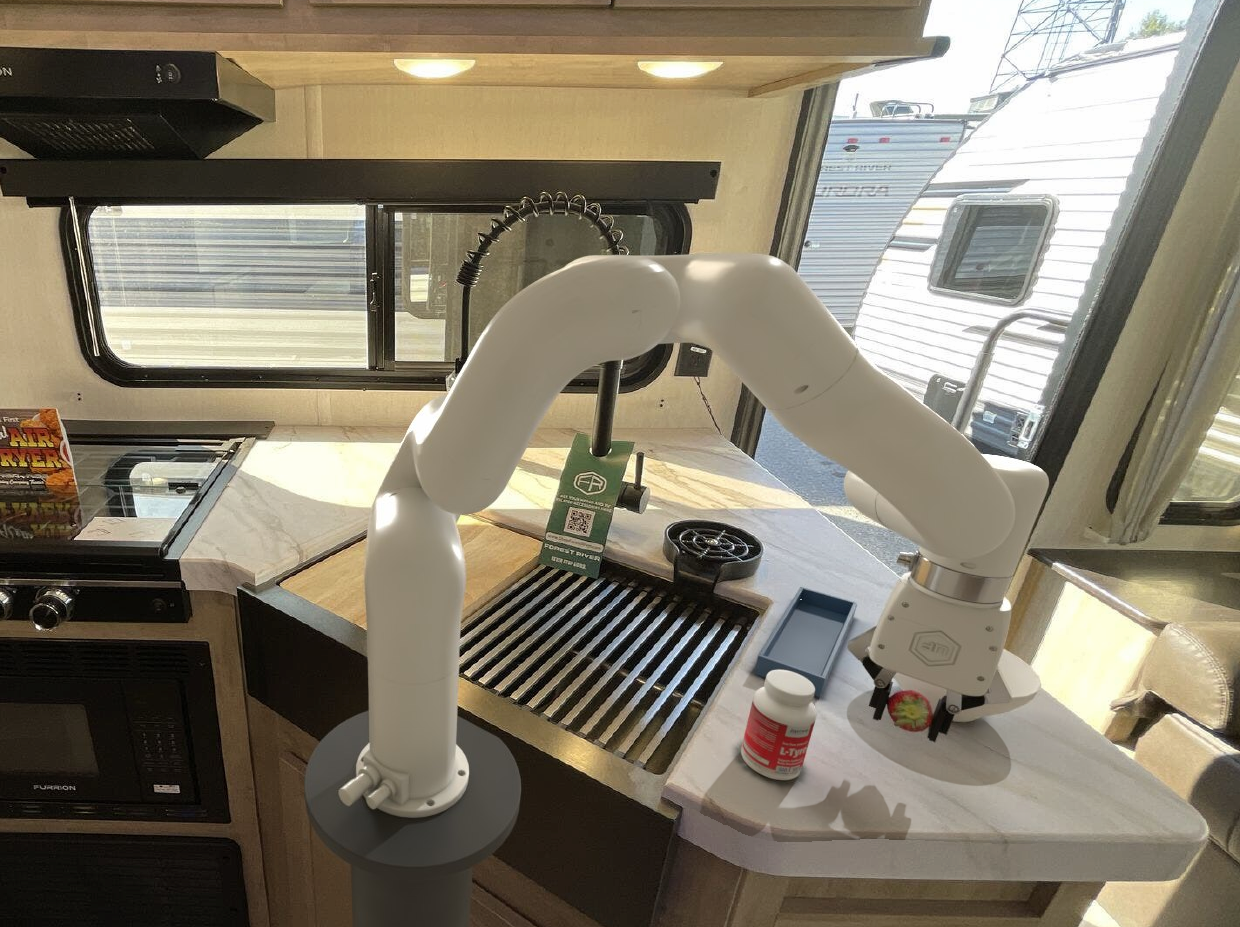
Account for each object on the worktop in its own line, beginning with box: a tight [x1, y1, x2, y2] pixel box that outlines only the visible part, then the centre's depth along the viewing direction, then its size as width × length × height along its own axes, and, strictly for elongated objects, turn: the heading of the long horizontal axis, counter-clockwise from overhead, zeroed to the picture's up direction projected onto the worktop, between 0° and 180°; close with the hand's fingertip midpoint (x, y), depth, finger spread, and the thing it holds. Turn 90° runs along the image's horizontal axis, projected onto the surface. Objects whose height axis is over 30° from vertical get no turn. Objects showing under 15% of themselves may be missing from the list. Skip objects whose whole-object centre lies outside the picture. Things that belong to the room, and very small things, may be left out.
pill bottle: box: [740, 670, 818, 781], centre depth 73 cm, size 6×6×11 cm
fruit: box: [886, 690, 934, 733], centre depth 72 cm, size 4×6×5 cm
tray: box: [753, 586, 858, 699], centre depth 97 cm, size 26×8×3 cm, turn 139°
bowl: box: [892, 648, 1042, 723], centre depth 84 cm, size 16×16×7 cm
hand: (904, 722), depth 73 cm, fingers closed on fruit, 4 cm apart
